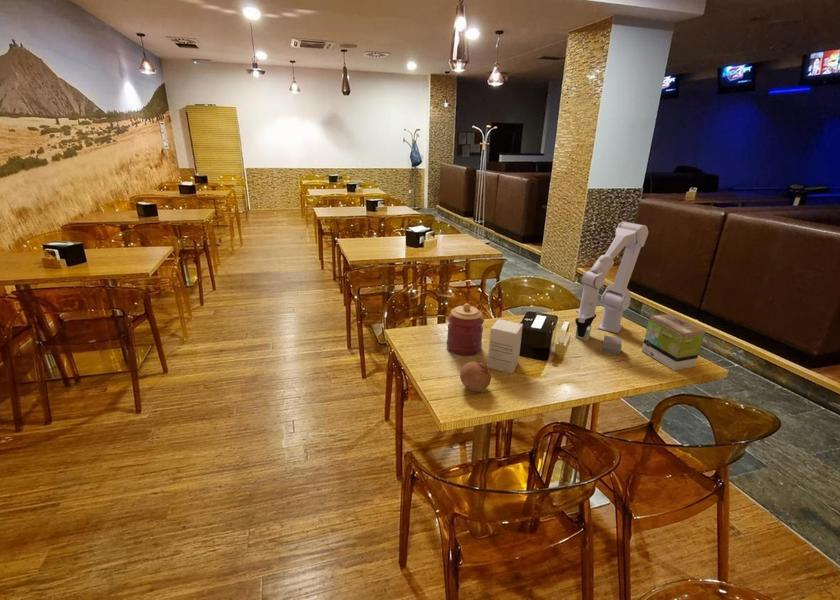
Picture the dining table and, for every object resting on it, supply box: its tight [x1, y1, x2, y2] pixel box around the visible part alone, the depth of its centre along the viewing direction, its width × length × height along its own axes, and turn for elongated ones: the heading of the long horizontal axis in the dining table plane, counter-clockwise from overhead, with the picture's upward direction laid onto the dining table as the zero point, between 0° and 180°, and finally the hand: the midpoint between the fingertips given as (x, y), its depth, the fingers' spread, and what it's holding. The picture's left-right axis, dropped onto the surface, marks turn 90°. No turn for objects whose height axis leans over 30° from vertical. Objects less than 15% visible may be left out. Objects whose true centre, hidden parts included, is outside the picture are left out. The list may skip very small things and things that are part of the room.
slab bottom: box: [600, 344, 622, 357], centre depth 158 cm, size 6×6×2 cm
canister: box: [446, 303, 485, 356], centre depth 154 cm, size 13×13×18 cm
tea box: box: [641, 313, 707, 371], centre depth 150 cm, size 15×10×15 cm, turn 18°
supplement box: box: [486, 318, 524, 374], centre depth 143 cm, size 9×9×15 cm
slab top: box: [602, 334, 623, 352], centre depth 157 cm, size 6×6×2 cm
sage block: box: [574, 325, 592, 341], centre depth 168 cm, size 4×4×4 cm
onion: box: [459, 360, 492, 394], centre depth 130 cm, size 10×9×10 cm
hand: (583, 333), depth 168 cm, fingers open, 6 cm apart
